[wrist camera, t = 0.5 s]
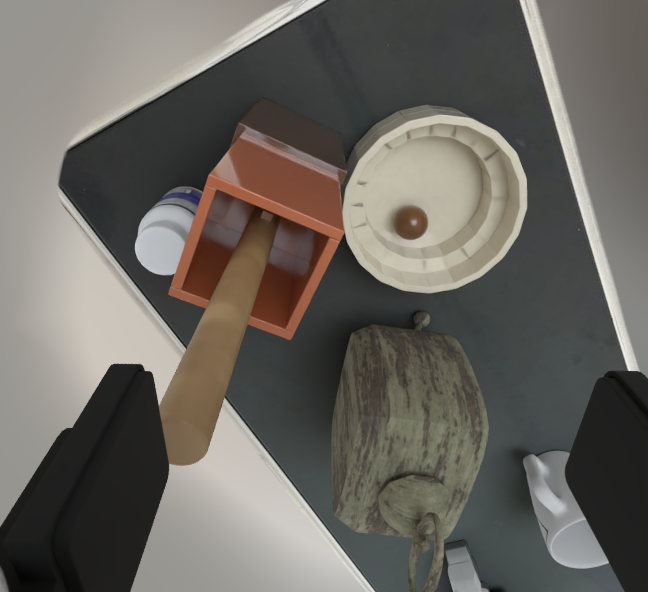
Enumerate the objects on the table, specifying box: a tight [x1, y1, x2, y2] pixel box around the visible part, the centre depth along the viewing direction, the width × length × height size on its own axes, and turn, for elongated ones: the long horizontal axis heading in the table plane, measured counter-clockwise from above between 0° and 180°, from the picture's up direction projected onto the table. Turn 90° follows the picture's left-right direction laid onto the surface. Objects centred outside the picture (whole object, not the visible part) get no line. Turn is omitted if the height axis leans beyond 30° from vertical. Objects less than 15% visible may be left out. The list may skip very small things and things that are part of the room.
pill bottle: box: [135, 187, 203, 275], centre depth 41 cm, size 5×5×9 cm
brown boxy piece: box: [168, 97, 347, 340], centre depth 32 cm, size 7×7×23 cm
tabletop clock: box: [331, 311, 489, 592], centre depth 41 cm, size 14×9×25 cm, turn 171°
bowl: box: [340, 105, 527, 293], centre depth 41 cm, size 14×14×6 cm
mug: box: [523, 451, 609, 568], centre depth 55 cm, size 11×8×10 cm
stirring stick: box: [159, 206, 281, 466], centre depth 21 cm, size 2×2×20 cm
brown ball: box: [393, 205, 428, 240], centre depth 43 cm, size 3×3×3 cm
